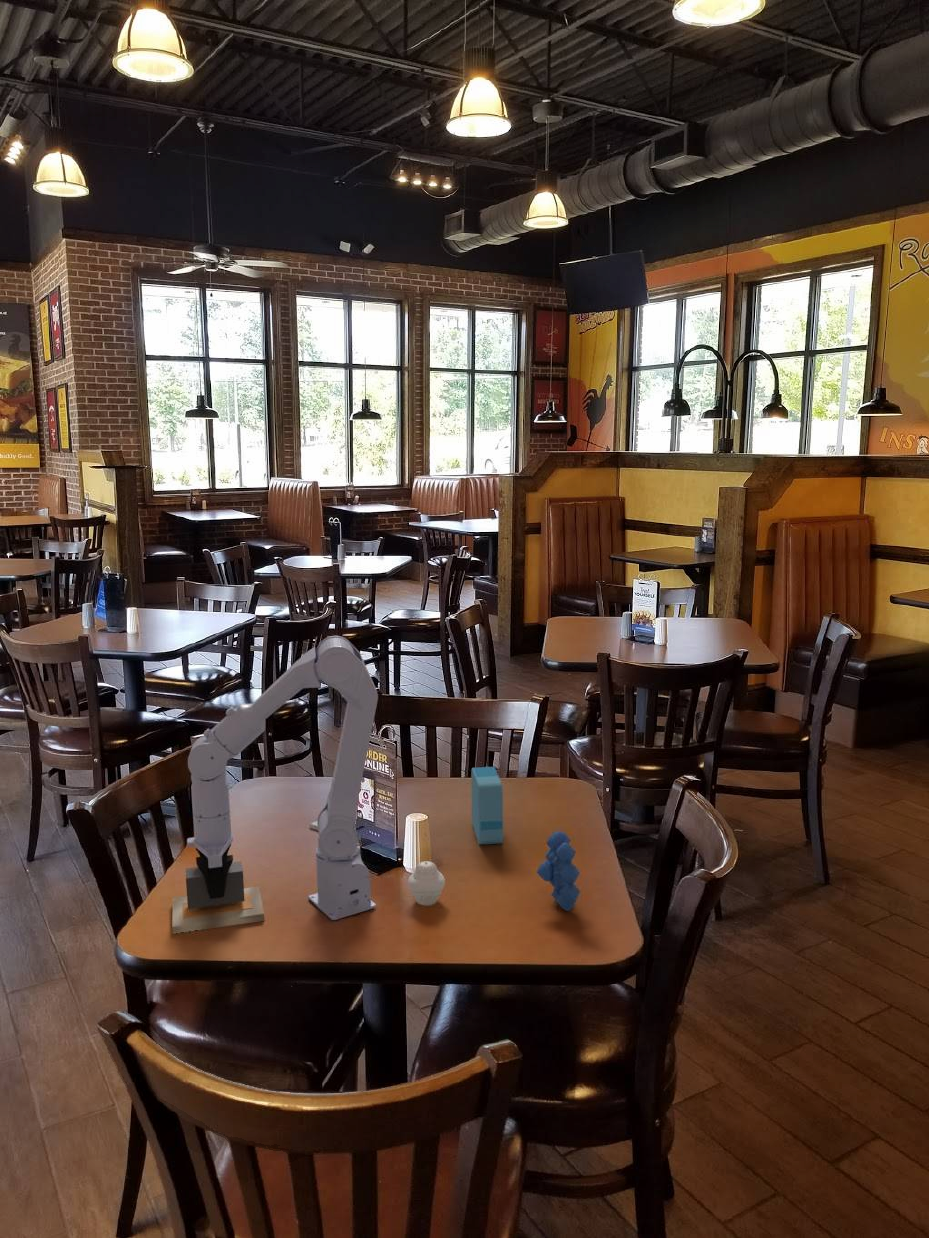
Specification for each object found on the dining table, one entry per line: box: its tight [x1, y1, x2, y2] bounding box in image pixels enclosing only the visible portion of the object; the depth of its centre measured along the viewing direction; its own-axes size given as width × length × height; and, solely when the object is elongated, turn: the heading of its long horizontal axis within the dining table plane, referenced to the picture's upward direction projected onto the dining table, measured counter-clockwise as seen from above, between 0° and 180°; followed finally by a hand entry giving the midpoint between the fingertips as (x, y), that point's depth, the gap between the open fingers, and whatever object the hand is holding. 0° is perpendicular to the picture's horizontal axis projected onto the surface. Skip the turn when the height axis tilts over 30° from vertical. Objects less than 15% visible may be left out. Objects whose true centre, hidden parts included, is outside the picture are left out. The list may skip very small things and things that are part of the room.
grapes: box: [536, 830, 581, 911], centre depth 155 cm, size 12×7×12 cm, turn 11°
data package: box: [470, 766, 504, 845], centre depth 183 cm, size 12×4×12 cm, turn 6°
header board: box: [171, 886, 265, 935], centre depth 154 cm, size 14×10×4 cm
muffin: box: [407, 860, 446, 907], centre depth 157 cm, size 6×6×7 cm
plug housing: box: [185, 860, 245, 909], centre depth 153 cm, size 9×4×5 cm, turn 106°
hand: (216, 891), depth 154 cm, fingers closed on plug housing, 4 cm apart
